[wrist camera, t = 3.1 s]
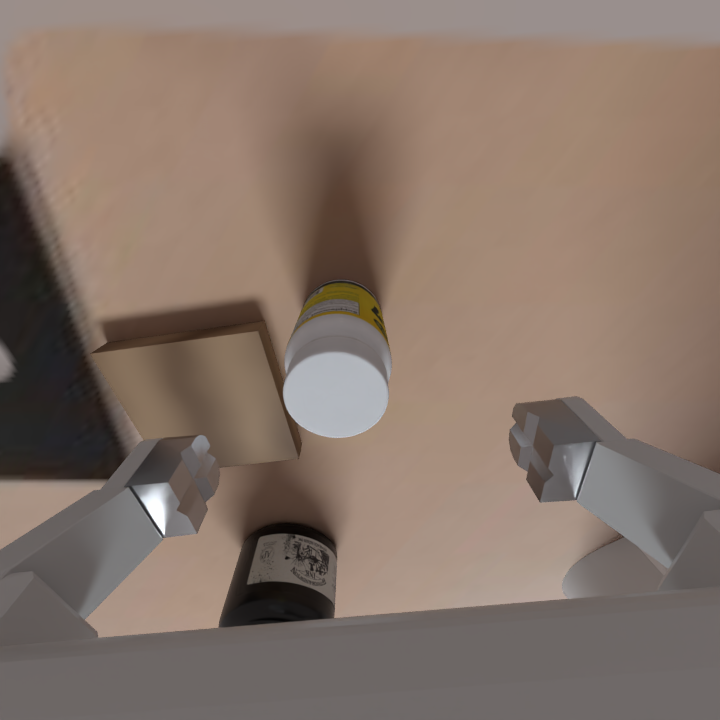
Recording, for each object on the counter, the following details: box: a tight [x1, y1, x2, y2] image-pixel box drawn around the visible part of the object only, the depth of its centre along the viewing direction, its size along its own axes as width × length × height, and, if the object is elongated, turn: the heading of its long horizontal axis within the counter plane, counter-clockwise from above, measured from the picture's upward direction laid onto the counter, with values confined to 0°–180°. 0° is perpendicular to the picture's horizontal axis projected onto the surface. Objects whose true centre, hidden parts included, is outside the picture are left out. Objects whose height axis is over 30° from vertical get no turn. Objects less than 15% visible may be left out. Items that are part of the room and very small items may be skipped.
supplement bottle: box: [283, 280, 392, 438], centre depth 16 cm, size 5×5×8 cm
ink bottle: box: [219, 524, 337, 628], centre depth 25 cm, size 10×9×12 cm
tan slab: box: [90, 321, 302, 468], centre depth 22 cm, size 10×10×2 cm
